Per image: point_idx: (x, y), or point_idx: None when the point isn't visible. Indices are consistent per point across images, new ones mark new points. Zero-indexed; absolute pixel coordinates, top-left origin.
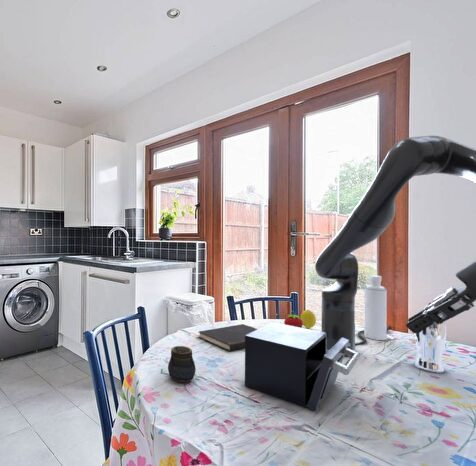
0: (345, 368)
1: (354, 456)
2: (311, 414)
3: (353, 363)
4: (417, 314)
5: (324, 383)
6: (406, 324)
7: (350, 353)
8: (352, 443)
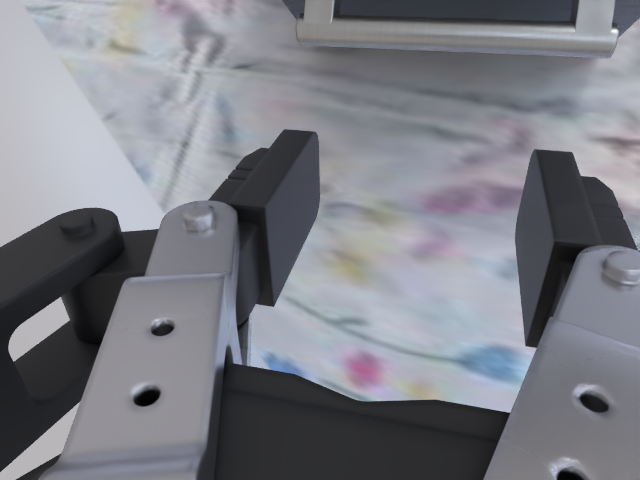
0: (297, 22)
1: (141, 154)
2: (288, 39)
3: (416, 41)
4: (542, 200)
5: (295, 5)
6: (285, 131)
7: (574, 10)
8: (196, 146)
